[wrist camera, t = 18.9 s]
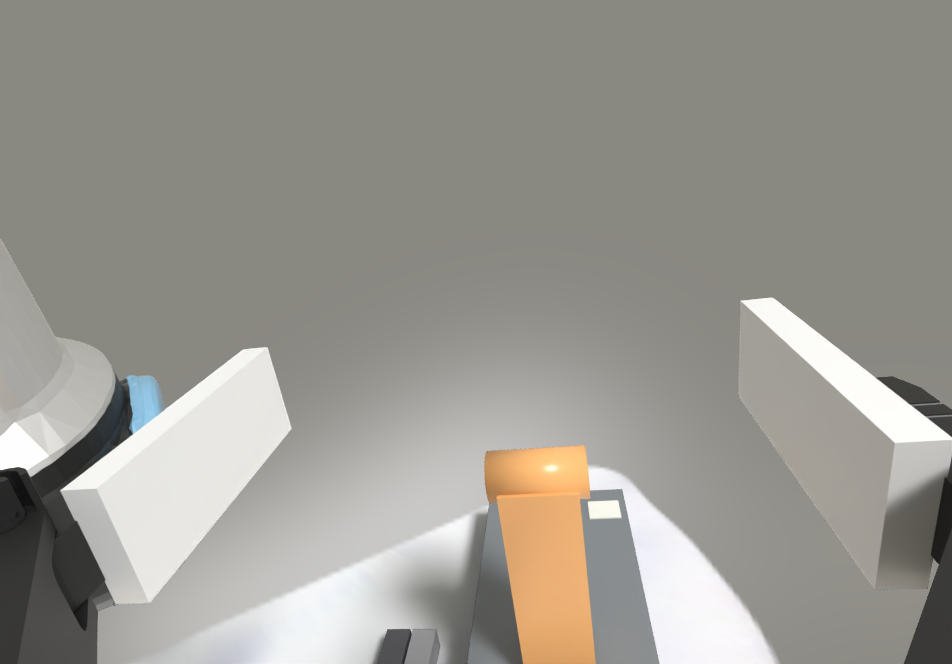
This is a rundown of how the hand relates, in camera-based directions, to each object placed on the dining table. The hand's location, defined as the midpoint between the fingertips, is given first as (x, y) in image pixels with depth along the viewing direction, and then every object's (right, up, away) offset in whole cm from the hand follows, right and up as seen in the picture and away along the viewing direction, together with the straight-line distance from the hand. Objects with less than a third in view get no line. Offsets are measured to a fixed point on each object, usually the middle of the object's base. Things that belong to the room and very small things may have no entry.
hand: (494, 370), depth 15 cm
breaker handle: (+4, -17, +17) cm, 25 cm away
